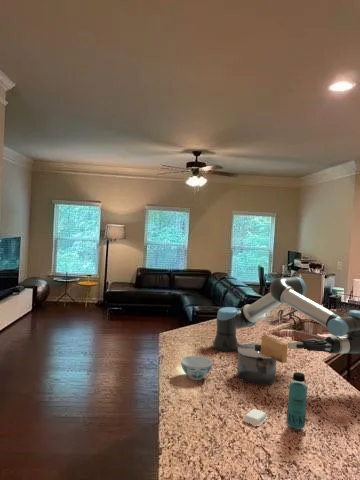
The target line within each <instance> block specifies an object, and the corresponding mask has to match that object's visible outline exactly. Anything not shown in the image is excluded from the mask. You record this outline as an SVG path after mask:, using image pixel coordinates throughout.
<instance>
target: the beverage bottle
mask: <svg viewBox="0 0 360 480" xmlns="http://www.w3.org/2000/svg"><path fill="white" fill-rule="evenodd" d="M292 380H293V381H291V382H290V383H289V385H288V388H289V389H288V400H287V407H286V408H287V411H286V424H287V425H288V426H289V428H290V427H291V428H294V429H297V430H300V429H304V428H305V426H306V418H307V417H306V416H307V414H306V413H307V412H306V411H307V398H308V397H307V395H308V386H307V385H306V384H305V383H304V382H305V381H306V377H305V374H304V373H303V372H293V375H292Z"/></svg>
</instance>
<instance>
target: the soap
mask: <svg viewBox="0 0 360 480" xmlns="http://www.w3.org/2000/svg"><path fill="white" fill-rule="evenodd" d="M267 415H268V414H267V413H266V412H265V411H262V410H259V409H256V408H253V409H252V410H250V411H248V412H247V413H246V414H245V415H244V417H243V419H242V421H243V420H244V421H246V422H248V424H249V423H251V424H254V425H260V424H261V423H263V422H264V421H265V420H266V419H267V418H268V416H267ZM267 420H268V419H267ZM251 424H250V425H251Z"/></svg>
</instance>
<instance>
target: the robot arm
mask: <svg viewBox="0 0 360 480" xmlns="http://www.w3.org/2000/svg"><path fill="white" fill-rule="evenodd" d="M306 293H307V285H306V282H305V281H304V279H302V278H301V277H299V276H288V277H287V276H286V277H278V278H276V279H274V280H273V281H272V282H271V283H270V285H269V292H268V293H267V294H265V295H264V296H262V297H261V298H259V299H258V300H256V301H255V302H252V303H251V304H248V303H247V304H245V305H243V306H242V307H239V308H236V307H233V306H225V307H221V308H219V309H218V310H217V315H216V334H215V338H214V340H213V342H212V348H213V349H214V350H218V351H222V352H235V351H238V346H239V342H238V339H237V330H239V329H244V328H251V327H253V326H255V325H256V324H257V322H258V321H259V318H260V317H261V316H264V314H267V313H268V312H270V311H271V310H273V309H275V308H276V307H278V306H280V305H281V304H282V305H288V306H289V307H291V308H293V309H295V311H296V310H297V311H298V312H299V313H301V314H303V315H305V316H306V317H309V318H310V319H312V320H313V321H315V322H317V323H319V324H320V325H322V326H323V327H326V328H327V331H328V332H329V334H331V335H332V336H326V337H325V339H319V340H318V339H317V338H311V339H301V340H299V341H288V342H287V349H289V350H306V351H310V352H325V353H328V354H340V355H344V354H360V310H357V309H353V310H352V309H351V310H349V311H348V314H347V316H341V315H339V314H337V313H335V312H333V311H332V310H330V309H328V308H326V307H325V306H323V305H320V304H319V303H317V302H315V301H313V300H312V299H310V298H308V297H306Z"/></svg>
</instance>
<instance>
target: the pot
mask: <svg viewBox="0 0 360 480" xmlns="http://www.w3.org/2000/svg"><path fill="white" fill-rule="evenodd" d="M277 362H278V361H277V360H275V359H273V358H271V359H258V358H252V357H247V356H244V355H242V354H240V353H239V352H238V360H237V378H238V379H239V380H240V379H241V380H240V381H243V382H244V383H247V384H251V385H257V386H266V385H267V386H269V385H272V384H274V383H275V382H276V376H277Z"/></svg>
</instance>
